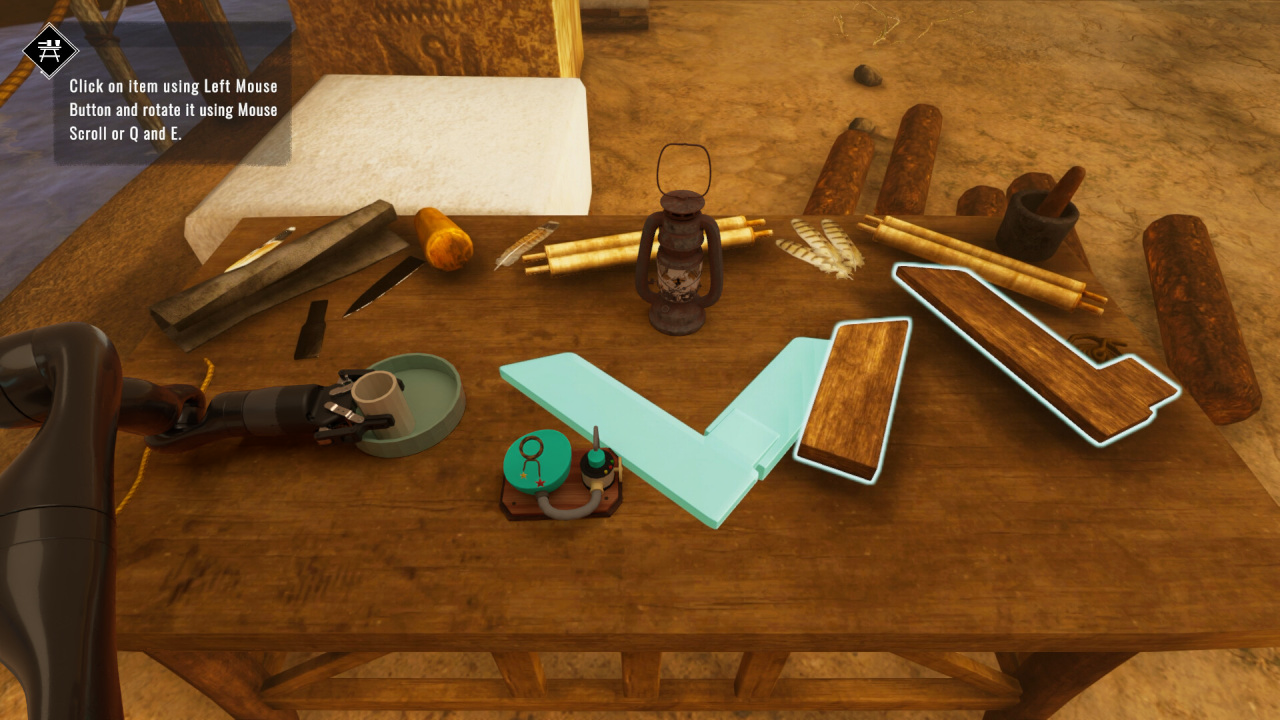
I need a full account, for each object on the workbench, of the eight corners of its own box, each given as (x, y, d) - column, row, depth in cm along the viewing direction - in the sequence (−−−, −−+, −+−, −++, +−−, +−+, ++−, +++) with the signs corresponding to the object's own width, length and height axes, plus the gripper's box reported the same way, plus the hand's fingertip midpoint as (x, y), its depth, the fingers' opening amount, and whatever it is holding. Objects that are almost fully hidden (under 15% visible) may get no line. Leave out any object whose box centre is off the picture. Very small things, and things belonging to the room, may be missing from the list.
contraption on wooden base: (624, 532, 80) (620, 472, 69) (495, 537, 80) (470, 478, 69) (622, 449, 90) (619, 385, 79) (507, 454, 89) (488, 390, 79)
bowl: (458, 452, 90) (451, 437, 87) (332, 462, 89) (322, 447, 86) (472, 365, 103) (467, 349, 100) (363, 372, 102) (355, 356, 99)
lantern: (640, 295, 116) (637, 124, 91) (720, 302, 115) (740, 130, 89) (631, 331, 109) (626, 156, 84) (717, 339, 107) (738, 163, 82)
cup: (411, 441, 90) (391, 400, 83) (370, 444, 90) (346, 404, 83) (418, 410, 95) (400, 369, 88) (379, 413, 95) (357, 372, 87)
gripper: (257, 433, 80) (379, 423, 81) (292, 359, 90) (400, 352, 91) (282, 463, 85) (396, 454, 86) (312, 391, 95) (414, 383, 96)
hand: (398, 402), depth 88 cm, fingers closed on cup, 6 cm apart
